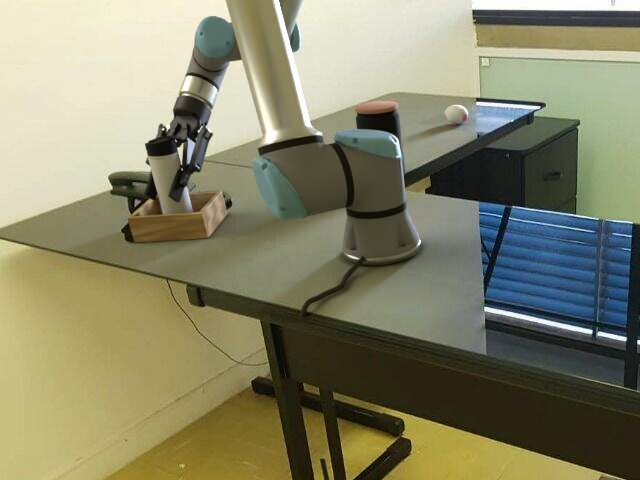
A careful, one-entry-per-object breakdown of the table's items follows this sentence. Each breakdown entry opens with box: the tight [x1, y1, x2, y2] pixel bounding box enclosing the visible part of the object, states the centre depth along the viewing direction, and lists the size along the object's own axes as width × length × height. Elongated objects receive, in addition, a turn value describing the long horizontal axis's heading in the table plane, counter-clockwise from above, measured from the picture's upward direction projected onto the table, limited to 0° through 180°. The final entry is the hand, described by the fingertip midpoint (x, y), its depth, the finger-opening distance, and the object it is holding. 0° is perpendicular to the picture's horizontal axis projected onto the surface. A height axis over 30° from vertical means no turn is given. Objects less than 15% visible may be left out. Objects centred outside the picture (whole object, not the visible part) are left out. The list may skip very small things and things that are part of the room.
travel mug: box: [144, 135, 193, 215], centre depth 171 cm, size 6×7×20 cm
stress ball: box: [444, 104, 469, 127], centre depth 249 cm, size 8×8×7 cm
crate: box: [126, 190, 228, 243], centre depth 175 cm, size 16×16×6 cm
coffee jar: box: [353, 100, 407, 176], centre depth 196 cm, size 11×11×18 cm
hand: (161, 198), depth 169 cm, fingers closed on travel mug, 6 cm apart
